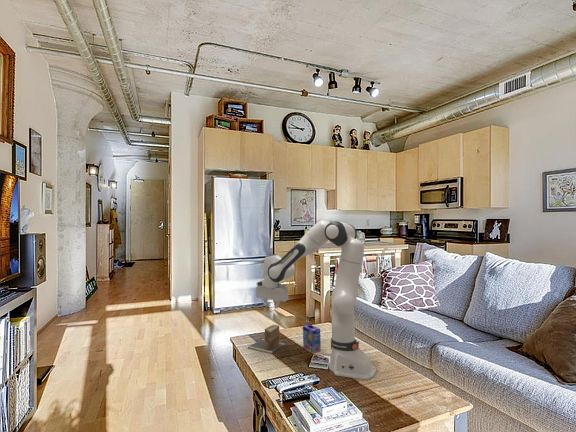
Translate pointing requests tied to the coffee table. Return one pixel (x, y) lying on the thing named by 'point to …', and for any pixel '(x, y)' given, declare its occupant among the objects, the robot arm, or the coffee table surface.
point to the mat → (261, 346)
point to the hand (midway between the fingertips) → (271, 307)
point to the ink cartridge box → (311, 338)
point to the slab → (271, 337)
